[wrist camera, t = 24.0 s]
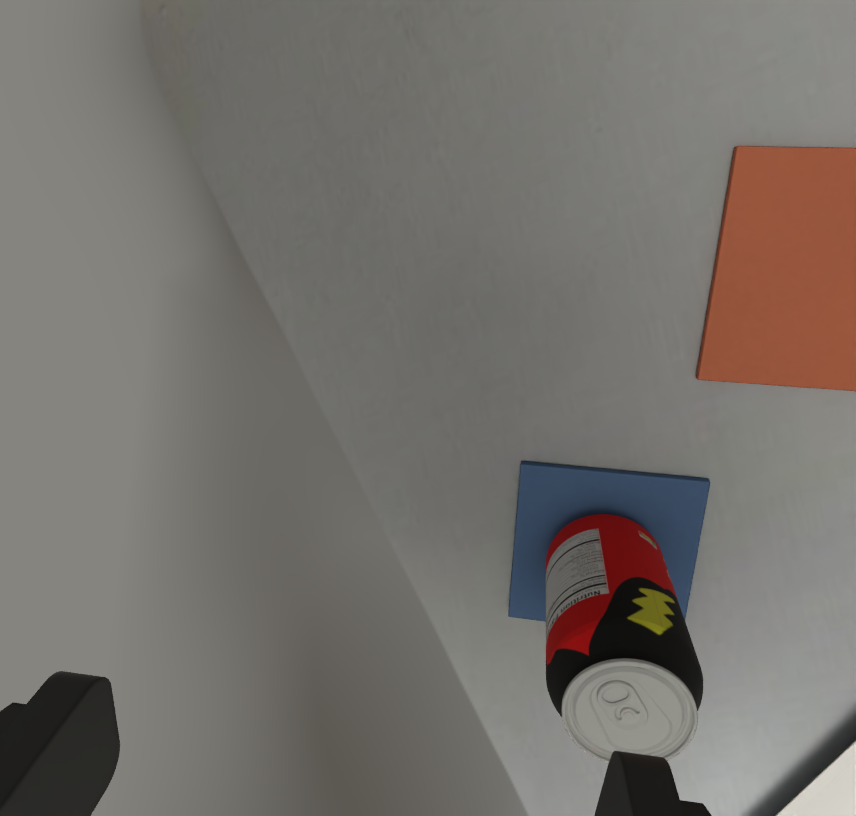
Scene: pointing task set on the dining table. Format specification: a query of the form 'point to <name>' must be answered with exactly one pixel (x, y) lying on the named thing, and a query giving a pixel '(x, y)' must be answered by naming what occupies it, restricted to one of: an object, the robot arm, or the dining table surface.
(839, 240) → the terracotta pad
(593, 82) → the dining table surface
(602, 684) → the beverage can
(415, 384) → the dining table surface
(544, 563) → the blue pad
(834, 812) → the plate
